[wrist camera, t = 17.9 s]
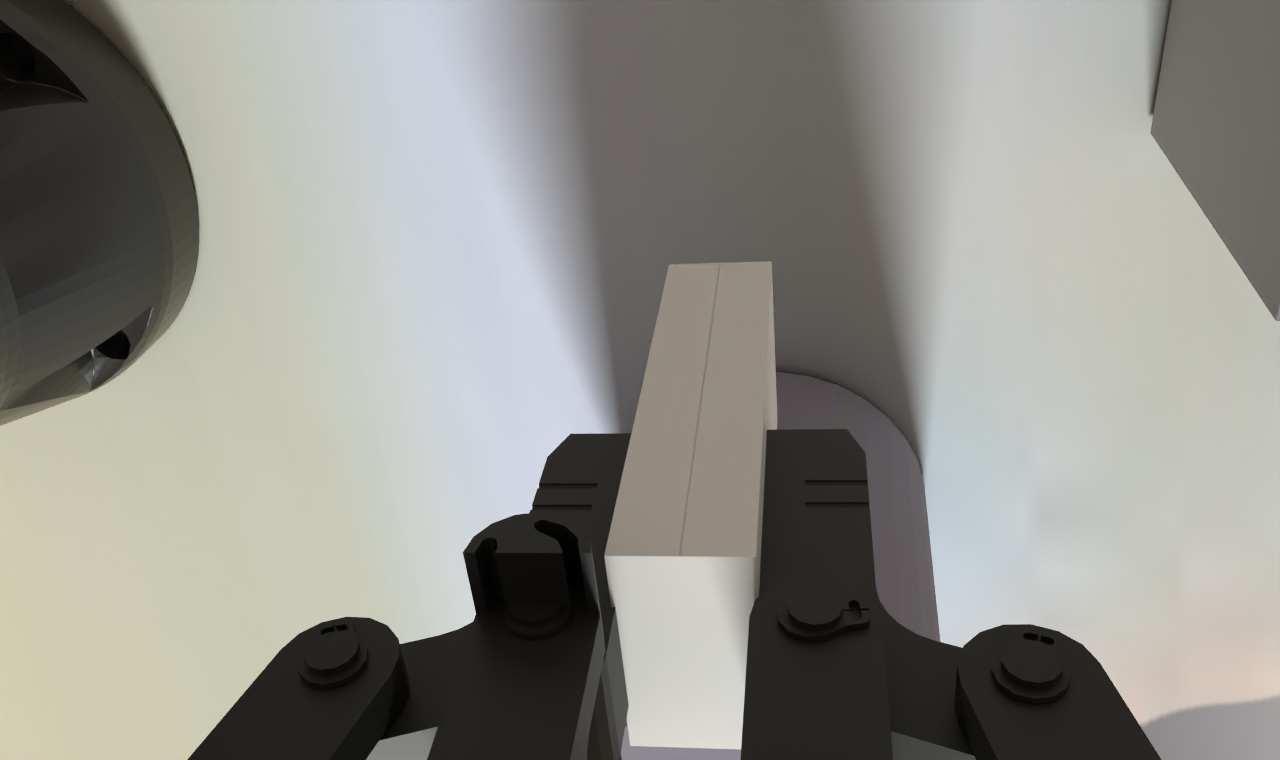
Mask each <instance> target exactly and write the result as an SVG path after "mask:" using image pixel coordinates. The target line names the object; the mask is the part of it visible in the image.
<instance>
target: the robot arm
mask: <svg viewBox="0 0 1280 760" xmlns="http://www.w3.org/2000/svg"><path fill="white" fill-rule="evenodd" d="M198 251H199V220H198V209H197V203H196V197H195V192H194V188H193V184H192V180H191V176H190V173H189V169H188V166H187V163H186V160H185V157H184V155H183V152H182V150H181V147H180V145H179V142H178V140H177V138H176V136H175V134H174V131H173V129H172V127H171V125H170V123H169V122H168V120H167V118H166V116H165V114H164V112H163V110H162V109H161V107H160V105H159V104H158V102H157V101H156V99H155V97H154V96H153V94H152V93H151V91H150V90H149V88H148V87H147V85H146V84H145V83H144V81H143V80H142V78H141V77H140V76H139V74H138V73H137V72H136V70H135V69H134V68H133V67H132V65H131V64H130V63H129V62H128V60H127V59H126V58H125V57H124V56H123V55H122V54H121V52H120V51H119V50H118V49H117V48H116V47H115V46H114V45H113V44H112V43H111V42H110V41H109V40H108V39H107V38H106V37H105V36H104V35H103V34H102V33H101V32H100V31H99V30H98V29H97V28H96V27H95V26H94V25H93V24H92V23H91V22H90V21H88V20H87V19H86V18H85V17H84V16H83V15H82V14H80V13H79V12H78V11H77V10H75V9H74V8H73V7H72V6H70V5H69V4H68V3H66V2H65V1H64V0H0V426H1V425H4V424H6V423H9V422H12V421H14V420H17V419H20V418H23V417H25V416H28V415H31V414H33V413H36V412H39V411H42V410H44V409H47V408H50V407H53V406H55V405H58V404H61V403H63V402H66V401H69V400H72V399H74V398H77V397H80V396H82V395H85V394H87V393H89V392H92V391H94V390H96V389H98V388H99V387H101V386H103V385H105V384H106V383H108V382H110V381H111V380H113V379H114V378H116V377H117V376H119V375H120V374H121V373H123V372H124V371H125V370H126V369H128V368H129V367H130V366H131V365H132V364H133V363H134V362H135V361H136V360H137V359H138V358H139V357H140V356H142V355H143V354H144V353H145V352H146V351H147V350H148V349H149V348H150V347H151V346H152V345H153V344H154V343H155V342H156V341H157V340H158V339H159V338H160V337H161V336H162V335H163V334H164V333H165V332H166V330H167V329H168V328H169V327H170V326H171V324H172V323H173V322H174V320H175V319H176V317H177V316H178V314H179V312H180V311H181V309H182V307H183V305H184V303H185V301H186V299H187V297H188V294H189V292H190V289H191V286H192V283H193V279H194V275H195V271H196V266H197V260H198ZM532 506H533V508H532V510H531V511H530V513H529V514H521V515H514V516H511V517H509V518H506V519H503V520H501V521H498V522H495V523H493V524H491V525H489V526H488V527H487V528H485V529H484V530H482V531H481V532H480V533H478V534H477V535H476V536H474V537H473V539H472V540H471V542H470V543H469V545H468V546H467V548H466V549H465V550H464V552H463V555H464V559H465V564H466V569H467V573H468V578H469V582H470V587H471V592H472V596H473V601H474V605H475V610H476V616H475V619H474V622H472V623H470V624H468V625H466V626H464V627H462V628H460V629H458V630H455V631H452V632H449V633H446V634H442V635H439V636H435V637H430V638H426V639H422V640H417V641H413V642H408V643H404V644H399V640H398V638H397V637H396V635H395V634H394V633H393V632H392V631H391V629H390V628H389V627H388V626H387V625H385V624H383V623H380V622H378V621H375V620H373V619H371V618H358V617H344V618H340V619H335V620H331V621H326V622H322V623H320V624H318V625H316V626H314V627H312V628H310V629H308V630H306V631H304V632H302V633H300V634H298V635H297V636H296V637H295V638H294V639H293V640H291V641H290V642H289V643H288V644H287V645H286V646H285V647H283V648H282V649H281V650H280V651H279V653H278V654H277V655H276V656H275V657H274V658H273V660H272V661H271V662H270V663H269V664H268V666H267V667H266V668H265V669H264V670H263V671H262V673H261V674H260V675H259V676H258V677H257V678H256V680H255V681H254V682H253V683H252V684H251V686H250V687H249V688H248V689H247V690H246V691H245V693H244V694H243V695H242V696H241V697H240V698H239V700H238V701H237V702H236V703H235V704H234V706H233V707H232V708H231V709H230V710H229V711H228V713H227V714H226V715H225V716H224V717H223V719H222V720H221V721H220V722H219V723H218V724H217V726H216V727H215V728H214V729H213V730H212V731H211V733H210V734H209V735H208V736H207V737H206V739H205V740H204V741H203V742H202V743H201V744H200V746H199V747H198V748H197V749H196V750H195V751H194V753H193V754H192V755H191V756H190V757H189V759H188V760H622V756H621V748H622V742H623V736H624V730H625V724H626V719H627V726H628V733H629V740H630V746H647V747H679V748H710V749H741V760H1161V758H1160V757H1159V755H1158V754H1157V752H1156V751H1155V749H1154V747H1153V746H1152V744H1151V743H1150V741H1149V740H1148V738H1147V736H1146V735H1145V733H1144V732H1143V730H1142V729H1141V727H1140V725H1139V724H1138V722H1137V721H1136V719H1135V718H1134V716H1133V714H1132V713H1131V711H1130V710H1129V708H1128V707H1127V705H1126V703H1125V702H1124V700H1123V699H1122V697H1121V696H1120V694H1119V692H1118V691H1117V689H1116V688H1115V686H1114V685H1113V683H1112V681H1111V680H1110V678H1109V677H1108V675H1107V674H1106V672H1105V670H1104V669H1103V667H1102V666H1101V664H1100V663H1099V662H1098V661H1097V659H1096V658H1095V657H1094V656H1093V655H1092V654H1091V653H1090V652H1089V651H1088V650H1087V649H1086V648H1085V647H1084V646H1083V645H1082V644H1080V643H1079V642H1077V641H1075V640H1073V639H1071V638H1069V637H1068V636H1066V635H1064V634H1062V633H1060V632H1059V631H1055V630H1051V629H1047V628H1043V627H1039V626H1035V625H1031V624H1030V625H1001V626H998V627H995V628H992V629H989V630H986V631H982V632H980V633H979V634H977V635H976V636H975V637H974V638H973V639H971V640H970V641H969V642H968V643H967V644H966V645H964V647H963V648H961V647H957V646H953V645H949V644H945V643H941V642H938V641H935V640H932V639H929V638H926V637H923V636H921V635H918V634H916V633H914V632H913V631H911V630H909V629H907V628H906V627H904V626H902V625H901V624H899V623H898V622H897V621H896V620H895V619H894V618H893V617H892V616H891V615H889V614H888V613H887V611H886V609H885V608H884V606H883V605H882V603H881V602H880V600H879V597H878V593H877V589H876V581H875V568H874V555H873V542H872V529H871V516H870V507H869V490H868V477H867V464H866V453H865V451H864V450H863V449H862V448H861V446H860V445H859V444H858V442H857V441H856V440H855V439H854V437H853V436H852V435H851V434H850V432H849V431H848V430H847V429H781V430H777V394H776V366H775V337H774V309H773V281H772V261H762V262H729V263H695V264H669V267H668V271H667V276H666V280H665V285H664V289H663V294H662V298H661V303H660V307H659V312H658V316H657V321H656V325H655V330H654V334H653V339H652V343H651V348H650V352H649V357H648V361H647V366H646V370H645V375H644V379H643V384H642V388H641V393H640V397H639V402H638V406H637V411H636V415H635V420H634V424H633V429H632V433H626V434H570V435H569V436H568V437H567V438H566V439H565V440H564V441H563V442H562V443H561V444H560V445H559V446H558V447H557V448H556V449H555V450H554V451H553V452H552V453H551V454H550V455H549V456H548V457H547V461H546V464H545V467H544V470H543V473H542V476H541V479H540V482H539V489H537V492H536V495H535V498H534V501H533V504H532Z"/></svg>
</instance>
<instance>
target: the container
mask: <svg viewBox="0 0 1280 760" xmlns="http://www.w3.org/2000/svg"><path fill="white" fill-rule="evenodd" d="M776 394H777V430H781V429H847V430H848V431H849V432H850V434H851V435H852V436H853V437H854V439H855V440H856V441H857V442H858V444H859V445H860V446H861V448H862V449H863V450H864V451H865V453H866V464H867V477H868V490H869V507H870V516H871V529H872V542H873V555H874V568H875V581H876V589H877V593H878V597H879V600H880V602H881V603H882V605H883V606H884V608H885V609H886V611H887V613H888V614H889V615H891V616H892V617H893V618H894V619H895V620H896V621H897V622H898V623H899V624H901V625H902V626H904V627H906V628H907V629H909V630H911V631H913V632H914V633H916V634H918V635H921V636H923V637H926V638H929V639H932V640H935V641H938V642H940V635H939V625H938V615H937V605H936V596H935V586H934V576H933V566H932V557H931V547H930V537H929V527H928V517H927V508H926V498H925V488H924V482H923V478H922V474H921V470H920V466H919V461H918V460H917V458H916V456H915V454H914V452H913V450H912V448H911V447H910V445H909V443H908V441H907V439H906V438H905V437H904V435H903V434H902V433H901V432H900V431H899V429H898V428H897V427H896V426H895V425H894V424H893V422H892V421H891V420H890V419H889V418H888V417H887V416H886V415H885V414H883V413H882V412H881V411H880V410H878V409H877V408H876V407H875V406H873V405H872V404H871V403H870V402H868V401H867V400H866V399H864V398H862V397H860V396H858V395H856V394H854V393H853V392H851V391H849V390H847V389H845V388H843V387H841V386H839V385H836V384H833V383H830V382H827V381H824V380H820V379H817V378H814V377H811V376H805V375H798V374H791V373H783V372H776ZM621 756H622V760H741V749H710V748H679V747H647V746H630V740H629V733H628V726H627V719H626V724H625V730H624V736H623V742H622V748H621Z"/></svg>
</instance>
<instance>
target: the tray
mask: <svg viewBox="0 0 1280 760" xmlns="http://www.w3.org/2000/svg"><path fill="white" fill-rule="evenodd" d="M1151 134H1152V136H1153V137H1154V139H1155V140H1156V142H1157V143H1158V145H1159V146H1160V148H1161V149H1162V151H1163V152H1164V154H1165V155H1166V157H1167V158H1168V160H1169V161H1170V163H1171V164H1172V166H1173V167H1174V169H1175V170H1176V172H1177V173H1178V175H1179V176H1180V178H1181V179H1182V181H1183V182H1184V184H1185V185H1186V187H1187V188H1188V190H1189V191H1190V193H1191V194H1192V196H1193V197H1194V199H1195V200H1196V202H1197V203H1198V205H1199V206H1200V208H1201V209H1202V211H1203V212H1204V214H1205V215H1206V217H1207V218H1208V220H1209V221H1210V223H1211V224H1212V226H1213V227H1214V229H1215V230H1216V232H1217V233H1218V235H1219V236H1220V238H1221V239H1222V241H1223V242H1224V244H1225V245H1226V247H1227V248H1228V250H1229V251H1230V253H1231V254H1232V256H1233V257H1234V259H1235V260H1236V262H1237V263H1238V265H1239V266H1240V268H1241V269H1242V271H1243V272H1244V274H1245V275H1246V277H1247V278H1248V280H1249V281H1250V283H1251V284H1252V286H1253V287H1254V289H1255V290H1256V292H1257V293H1258V295H1259V296H1260V298H1261V299H1262V301H1263V302H1264V304H1265V305H1266V307H1267V308H1268V310H1269V311H1270V313H1271V314H1272V316H1273V317H1274V319H1275V320H1276V321H1280V0H1172V2H1171V9H1170V15H1169V21H1168V27H1167V34H1166V40H1165V46H1164V52H1163V58H1162V65H1161V71H1160V77H1159V83H1158V89H1157V96H1156V102H1155V108H1154V114H1153V121H1152V127H1151Z"/></svg>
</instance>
